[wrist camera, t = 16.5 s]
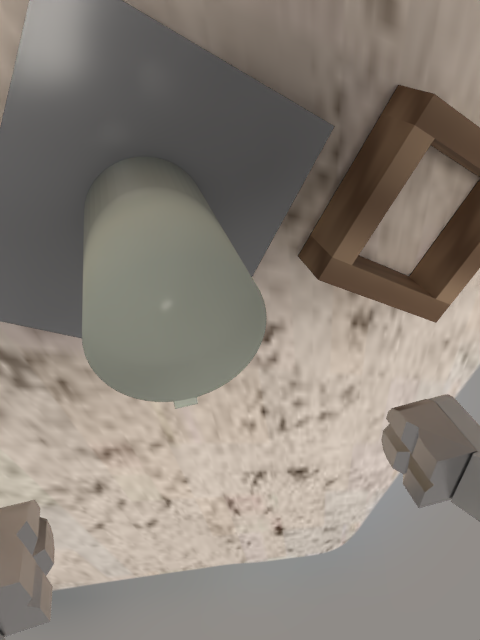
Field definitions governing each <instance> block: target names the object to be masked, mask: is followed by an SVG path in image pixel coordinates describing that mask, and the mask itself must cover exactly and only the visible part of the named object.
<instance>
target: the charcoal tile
mask: <svg viewBox="0 0 480 640" xmlns="http://www.w3.org/2000/svg"><path fill="white" fill-rule="evenodd" d="M334 127H335V126H333V125H331V124H330V123H328V122H326V121H325V120H323V119H321V118H320V117H318V116H316V115H315V114H313V113H311V112H309V111H308V110H306V109H304V108H303V107H301V106H299V105H298V104H296V103H294V102H293V101H291V100H289V99H288V98H286V97H284V96H282V95H281V94H279V93H277V92H276V91H274V90H272V89H271V88H269V87H267V86H266V85H264V84H262V83H260V82H259V81H257V80H255V79H254V78H252V77H250V76H249V75H247V74H245V73H244V72H242V71H240V70H239V69H237V68H235V67H233V66H232V65H230V64H228V63H227V62H225V61H223V60H222V59H220V58H218V57H217V56H215V55H213V54H211V53H210V52H208V51H206V50H205V49H203V48H201V47H200V46H198V45H196V44H195V43H193V42H191V41H190V40H188V39H186V38H184V37H183V36H181V35H179V34H178V33H176V32H174V31H173V30H171V29H169V28H168V27H166V26H164V25H163V24H161V23H159V22H157V21H156V20H154V19H152V18H151V17H149V16H147V15H146V14H144V13H142V12H141V11H139V10H137V9H135V8H134V7H132V6H130V5H129V4H127V3H125V2H124V1H122V0H29V4H28V8H27V13H26V17H25V21H24V26H23V30H22V35H21V39H20V43H19V48H18V52H17V57H16V61H15V65H14V70H13V74H12V79H11V83H10V87H9V92H8V96H7V101H6V105H5V109H4V114H3V118H2V123H1V127H0V321H2V322H7V323H11V324H16V325H21V326H26V327H30V328H35V329H40V330H45V331H49V332H54V333H59V334H64V335H68V336H73V337H78V338H82V303H83V239H84V206H85V200H86V196H87V194H88V191H89V189H90V187H91V185H92V184H93V182H94V181H95V180H96V178H97V177H98V176H99V175H100V174H101V173H102V172H103V171H104V170H105V169H107V168H108V167H110V166H111V165H113V164H115V163H117V162H119V161H122V160H125V159H128V158H133V157H144V156H146V157H155V158H160V159H163V160H166V161H169V162H171V163H173V164H175V165H177V166H178V167H180V168H181V169H183V170H184V171H185V172H186V173H187V174H188V175H189V176H190V177H191V178H192V179H193V180H194V182H195V183H196V185H197V186H198V188H199V190H200V191H201V193H202V195H203V196H204V198H205V200H206V201H207V203H208V205H209V206H210V208H211V210H212V211H213V213H214V215H215V217H216V218H217V220H218V222H219V223H220V225H221V227H222V228H223V230H224V232H225V233H226V235H227V237H228V238H229V240H230V242H231V243H232V245H233V247H234V248H235V250H236V252H237V254H238V255H239V257H240V259H241V260H242V262H243V264H244V265H245V267H246V269H247V270H248V272H249V274H250V275H251V277H252V276H253V274H254V272H255V270H256V269H257V267H258V265H259V263H260V261H261V259H262V258H263V256H264V254H265V252H266V250H267V249H268V247H269V245H270V243H271V241H272V239H273V238H274V236H275V234H276V232H277V230H278V229H279V227H280V225H281V223H282V221H283V219H284V218H285V216H286V214H287V212H288V210H289V208H290V207H291V205H292V203H293V201H294V199H295V198H296V196H297V194H298V192H299V190H300V188H301V187H302V185H303V183H304V181H305V179H306V178H307V176H308V174H309V172H310V170H311V168H312V167H313V165H314V163H315V161H316V159H317V157H318V156H319V154H320V152H321V150H322V148H323V147H324V145H325V143H326V141H327V139H328V137H329V136H330V134H331V132H332V130H333V128H334Z"/></svg>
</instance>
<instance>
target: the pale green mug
mask: <svg viewBox="0 0 480 640" xmlns="http://www.w3.org/2000/svg"><path fill="white" fill-rule="evenodd" d="M265 328H266V308H265V304H264V300H263V297H262V295H261V293H260V291H259V289H258V287H257V286H256V284H255V282H254V280H253V279H252V277H251V275H250V274H249V272H248V270H247V269H246V267H245V265H244V264H243V262H242V260H241V259H240V257H239V255H238V254H237V252H236V250H235V248H234V247H233V245H232V243H231V242H230V240H229V238H228V237H227V235H226V233H225V232H224V230H223V228H222V227H221V225H220V223H219V222H218V220H217V218H216V217H215V215H214V213H213V211H212V210H211V208H210V206H209V205H208V203H207V201H206V200H205V198H204V196H203V195H202V193H201V191H200V190H199V188H198V186H197V185H196V183H195V182H194V180H193V179H192V178H191V177H190V176H189V175H188V174H187V173H186V172H185V171H184V170H183V169H181V168H180V167H178V166H177V165H175V164H173V163H171V162H169V161H166V160H163V159H160V158H155V157H146V156H144V157H133V158H128V159H125V160H122V161H119V162H117V163H115V164H113V165H111V166H110V167H108V168H107V169H105V170H104V171H103V172H102V173H101V174H100V175H99V176H98V177H97V178H96V180H95V181H94V182H93V184H92V185H91V187H90V189H89V191H88V194H87V196H86V200H85V206H84V239H83V303H82V343H83V348H84V353H85V356H86V358H87V360H88V363H89V365H90V366H91V368H92V369H93V371H94V372H95V373H96V374H97V376H98V377H99V378H100V379H101V380H102V381H103V382H105V383H106V384H107V385H108V386H110V387H111V388H113V389H115V390H116V391H118V392H120V393H122V394H125V395H127V396H130V397H133V398H136V399H141V400H145V401H154V402H172V401H174V406H175V409H177V408H182V407H186V406H190V405H195V404H198V402H197V397H198V396H201V395H204V394H206V393H209V392H211V391H213V390H215V389H217V388H219V387H221V386H223V385H224V384H226V383H228V382H229V381H230V380H232V379H233V378H234V377H236V376H237V375H238V374H239V373H240V372H241V371H242V370H243V369H244V368H245V367H246V366H247V365H248V364H249V363H250V361H251V360H252V359H253V357H254V356H255V354H256V352H257V351H258V349H259V347H260V345H261V342H262V340H263V337H264V333H265Z"/></svg>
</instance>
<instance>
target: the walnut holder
mask: <svg viewBox="0 0 480 640" xmlns="http://www.w3.org/2000/svg"><path fill="white" fill-rule="evenodd" d="M430 145H431V146H433V147H434V148H436V149H437V150H439V151H440V152H442V153H443V154H445V155H446V156H448V157H450V158H451V159H453V160H454V161H456V162H457V163H459V164H460V165H462V166H463V167H465V168H466V169H468V170H469V171H471V172H472V173H474V174H475V175H477V176H478V177H480V128H479V127H478V126H477V125H475V124H474V123H473V122H471V121H470V120H469V119H467V118H466V117H465V116H463V115H462V114H461V113H459V112H458V111H457V110H455V109H454V108H453V107H451V106H450V105H449V104H447V103H446V102H445V101H443V100H442V99H440V98H439V97H438V96H436V95H435V94H433V93H429V92H425V91H421V90H417V89H413V88H409V87H405V86H401V85H398V87H397V89H396V90H395V92H394V94H393V95H392V97H391V99H390V100H389V102H388V104H387V106H386V107H385V109H384V111H383V112H382V114H381V116H380V118H379V119H378V121H377V123H376V124H375V126H374V128H373V129H372V131H371V133H370V135H369V136H368V138H367V140H366V141H365V143H364V145H363V146H362V148H361V150H360V152H359V153H358V155H357V157H356V158H355V160H354V162H353V163H352V165H351V167H350V169H349V170H348V172H347V174H346V175H345V177H344V179H343V180H342V182H341V184H340V186H339V187H338V189H337V191H336V192H335V194H334V196H333V198H332V199H331V201H330V203H329V204H328V206H327V208H326V209H325V211H324V213H323V215H322V216H321V218H320V220H319V221H318V223H317V225H316V226H315V228H314V230H313V232H312V233H311V235H310V237H309V238H308V240H307V242H306V243H305V245H304V247H303V249H302V250H301V252H300V254H299V255H298V257H299V258H300V259H301V260H302V261H303V263H304V264H305V265H306V266H307V267H308V268H309V270H310V271H311V272H312V273H313V274H314V276H315V277H316V278H317V279H318V280H320V281H323V282H326V283H328V284H331V285H334V286H337V287H339V288H342V289H345V290H348V291H350V292H353V293H356V294H359V295H361V296H364V297H367V298H370V299H373V300H375V301H378V302H381V303H384V304H386V305H389V306H392V307H395V308H397V309H400V310H403V311H406V312H408V313H411V314H414V315H417V316H419V317H422V318H425V319H428V320H430V321H433V322H437V321H438V320H439V318H440V317H441V316H442V315H443V313H444V312H445V311H446V309H447V308H448V307H449V306H450V304H451V303H452V302H453V301H454V299H455V298H456V297H457V296H458V294H459V293H460V292H461V291H462V289H463V288H464V287H465V286H466V284H467V283H468V282H469V281H470V279H471V278H472V277H473V276H474V274H475V273H476V272H477V271H478V269H479V268H480V180H479V181H478V183H477V184H476V185H475V187H474V188H473V190H472V191H471V192H470V194H469V195H468V196H467V198H466V199H465V201H464V202H463V203H462V205H461V206H460V208H459V209H458V210H457V212H456V213H455V214H454V216H453V217H452V219H451V220H450V221H449V223H448V224H447V225H446V227H445V228H444V230H443V231H442V232H441V234H440V235H439V236H438V238H437V239H436V241H435V242H434V243H433V245H432V246H431V247H430V249H429V250H428V252H427V253H426V254H425V256H424V257H423V258H422V260H421V261H420V263H419V264H418V265H417V267H416V268H415V269H414V271H413V272H412V274H411V275H410V276H406V275H404V274H402V273H399V272H397V271H394V270H392V269H390V268H387V267H385V266H383V265H380V264H378V263H375V262H373V261H371V260H368V259H366V258H364V257H361V256H359V254H360V252H361V251H362V249H363V248H364V246H365V244H366V243H367V241H368V240H369V238H370V237H371V235H372V234H373V232H374V231H375V229H376V228H377V226H378V225H379V223H380V221H381V220H382V218H383V217H384V215H385V214H386V212H387V211H388V209H389V208H390V206H391V205H392V203H393V202H394V200H395V199H396V197H397V195H398V194H399V192H400V191H401V189H402V188H403V186H404V185H405V183H406V182H407V180H408V179H409V177H410V176H411V174H412V173H413V171H414V169H415V168H416V166H417V165H418V163H419V162H420V160H421V159H422V157H423V156H424V154H425V153H426V151H427V150H428V148H429V146H430Z"/></svg>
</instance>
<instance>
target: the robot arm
mask: <svg viewBox="0 0 480 640" xmlns="http://www.w3.org/2000/svg"><path fill="white" fill-rule="evenodd" d="M386 419H387V420H388V422H389V423H390V424H389V425H388V426H387V427H386V428H385V429H384V430H383V434H382V445H383V451H384V453H385V455H386V458H387V460H388V461H389V463H390V464H391V466H392V468H394V469H395V470H397V471H399V472H401V473H402V474H403V485H404V486H405V488H406V489H407V491H408V492H409V494H410V495H411V497H412V499H413V500H414V502H415V503H416V505H417V506H418V508H422V507H425V506H429V505H433V504H436V503H440V502H443V501H447V500H451V499H452V500H451V502H452V503H454V504H455V505H456V506H458V507H459V508H461V509H462V510H464V511H465V512H467V513H468V514H469V515H471V516H472V517H474V518H475V519H476V520H478V521H479V522H480V425H478V423H477V422H476V421H475V420H474V419H473V418H472V417H471V416H470V415H469V413H468V412H467V411H466V410H465V409H464V408H463V407H462V406H461V405H460V404H459V403H458V402H457V400H456V399H455V398H454V397H452V396H450V395H448V394H447V395H441V396H438V397H434V398H430V399H424V400H420V401H417V402H413V403H409V404H406V405H402V406H399V407H395V408H392V409H391V410H390V411H388V414H387V418H386ZM54 550H55V549H54V539H53V533H52V529H51V526H50V524H49V522H48V520H47V519H44V518H41V517H40V507H39V505H38V504H37V502H36V501H35V500H31V501H27V502H23V503H19V504H15V505H10V506H6V507H2V508H0V640H5V638H4V637H5V636H9V635H11V634H15V633H17V632H21V631H24V630H27V629H30V628H33V627H36V626H38V625H41V624H44V623H47V622H50V617H51V602H52V587H53V586H52V585H51V583H50V582H49V580H48V579H47V577H46V575H47V574H48V572H49V571H50V569H51V568H52V566H53V564H54Z"/></svg>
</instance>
